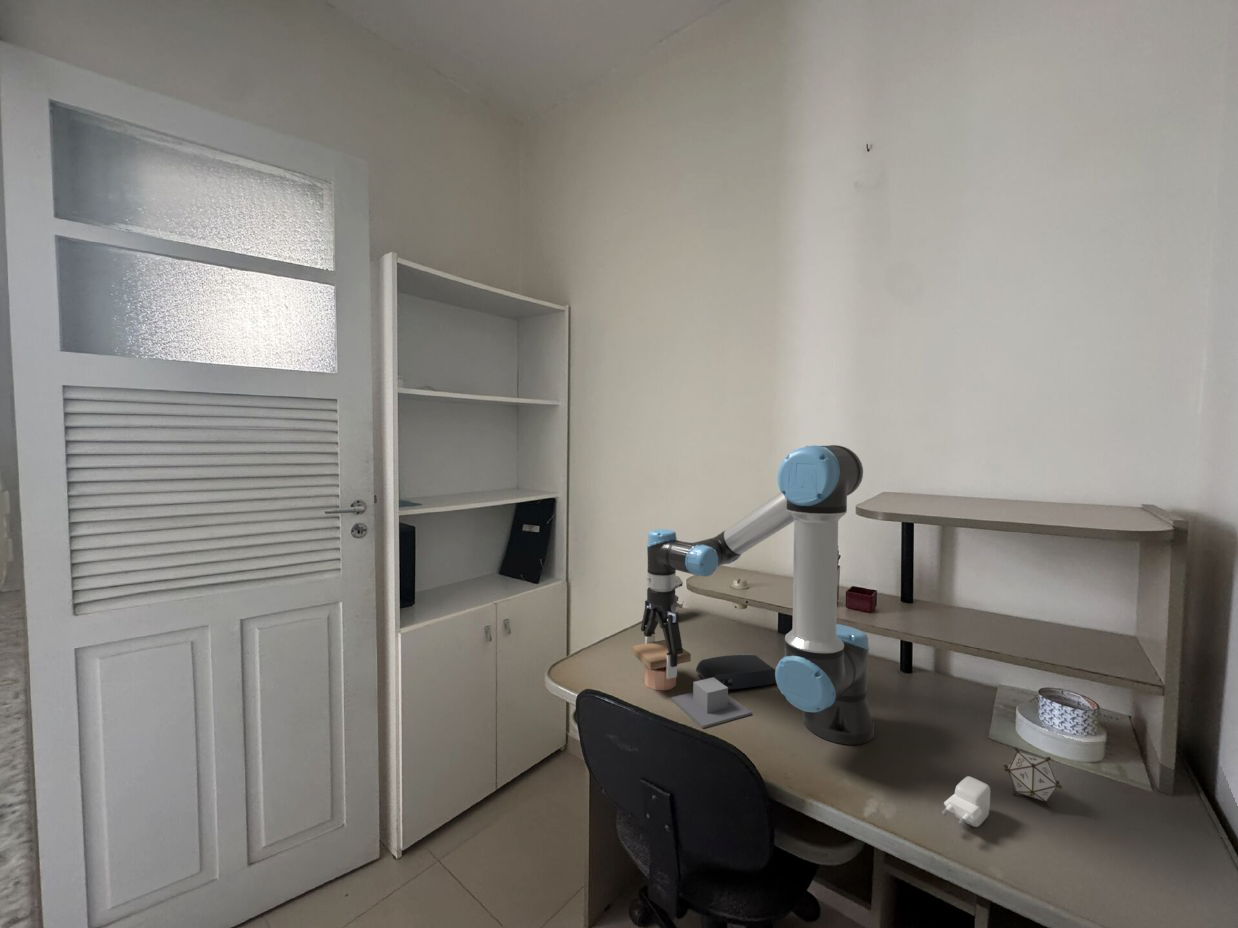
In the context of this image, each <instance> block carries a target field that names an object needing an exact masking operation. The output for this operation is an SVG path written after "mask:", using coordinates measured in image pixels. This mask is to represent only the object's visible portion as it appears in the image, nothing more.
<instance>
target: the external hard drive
mask: <svg viewBox="0 0 1238 928" xmlns="http://www.w3.org/2000/svg"><path fill="white" fill-rule="evenodd" d="M775 671H776V668H774V667H772V666H771V665H769V664H768V663H766V662H765V661H764V660H762V659H761V658H760V657H758V655H756V654H750V653H749V654H747V653H745V654H744V653H742V654H727V655H719V656H713V657H707V658H704V659H701V660H700V661H699V662H698V663H697V665H696V667H695V672H696V673H697V674H698V675H699V676H700V677H701V678H702V680H704V679H708V678H712V677H714V678H715V679H717V680H718V681H719V682H721V683H722V684H723V685H725V686H726V687H728V690H737V689H738V690H739V689H745V688H746V689H748V688H754V687H761V686H769V685H773V684H777V683H776V678H775Z"/></svg>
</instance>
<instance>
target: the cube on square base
mask: <svg viewBox="0 0 1238 928" xmlns="http://www.w3.org/2000/svg"><path fill="white" fill-rule="evenodd" d="M692 685H693V688H692V690H693V691H692V692H688V693H684V694H683V693H682V694H680V695H675V696H672V697H670V700H671V702H673V703H674V704H675V705H676V706H677V707H678V708H680V710H682V711H683V712H684V713H685V714H686V715H687V716H688V717H689V718H691V720H692V721H694V722H695V724H697V725H698V726H699V727H700V728H701V729H706V728H709V727H714V726H716V725H720V724H723V723H727V722H730V721H735V720H737V719H742V718H744V717H747V716H748V717H749V716H752V711H751V710H749V709H748V708H747V707H745V706H744V705H742V704H741V703H740V702H739V701H738V700H736V699H734V698H733V697H732V696H731V695H729V689H728V687H726V686H725V685H723V684H722V683H721V682H719V681H718V680H717V679H715V678H714V677H712V678H708V679H700V680H695V681H693V683H692Z"/></svg>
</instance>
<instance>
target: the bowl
mask: <svg viewBox="0 0 1238 928" xmlns="http://www.w3.org/2000/svg"><path fill="white" fill-rule="evenodd" d="M666 668H667V667H662V668H657V669H653V670H650V669H649V668H648V667H647V666H646V665H644V683H643V684H644V685H645V686H646V687H648V688H649V689H652V690H654V691H668V690H672V689H673V688H675V687H676V686H677V677H674V678H670V679H667V678H666Z"/></svg>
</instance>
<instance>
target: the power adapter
mask: <svg viewBox="0 0 1238 928" xmlns="http://www.w3.org/2000/svg"><path fill="white" fill-rule="evenodd" d="M943 805H944V807H945V808H944V809H943V810H942V811H941V814H942V815H943V816H944V817H945V816H947V815H948V814H949V813H952V814H954V816H955V817H956V818H957V819H958V824H959V825H960V826H963V825H965V824H968V825H969V826H971V827H973V828H979V827H980V826H981V825H982V824H983V823H984V822H985V820H987V818H988V816H989V815H990V809H991V808H990V807H991V806H990V805H991V787H990V786H989V784H988V783H985V782H983V781H981V780H979V779H977V778H975V777H972V776H969V775H968V776H965V777H964V778H963V779H962V780H960V782H958V783H957V785H956V786H955V789H954V794H952V795H951V796H950V797H948V798H947V799H946V800H945V801H944V802H943Z"/></svg>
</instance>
